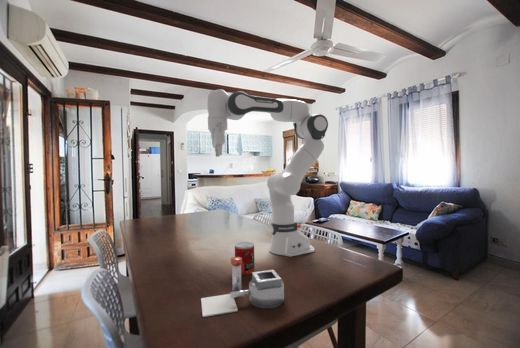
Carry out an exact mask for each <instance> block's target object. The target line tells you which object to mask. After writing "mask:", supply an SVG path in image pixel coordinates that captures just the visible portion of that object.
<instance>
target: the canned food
mask: <svg viewBox="0 0 520 348" xmlns="http://www.w3.org/2000/svg"><path fill="white" fill-rule="evenodd" d="M234 257H241V258H242V264H241V276H249V275H252V272H255V244H254V243H253V242H249V241H240V242H236V243H235V244H234Z"/></svg>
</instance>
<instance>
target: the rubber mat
mask: <svg viewBox="0 0 520 348" xmlns="http://www.w3.org/2000/svg"><path fill="white" fill-rule="evenodd" d="M200 301H201V303H200V304H201V312H202V313H201V314H202V318H207V317H211V316H213V317H214V316H217V315H218V316H219V315H224V314H229V313H230V314H231V313H236V312H238V311H239V310H238V306H237V304H236V300H235V297H234V298H230V293H227V294H219V295H214V296H207V297H201V298H200Z"/></svg>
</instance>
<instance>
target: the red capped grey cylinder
mask: <svg viewBox="0 0 520 348" xmlns="http://www.w3.org/2000/svg"><path fill="white" fill-rule="evenodd" d="M230 264H231V273H232V278H231V279H232V281H231V283H232V292H235V291H242V275H241V264H242V258H241V257H235V256H233V257H231V258H230Z"/></svg>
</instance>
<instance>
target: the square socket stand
mask: <svg viewBox="0 0 520 348" xmlns="http://www.w3.org/2000/svg"><path fill="white" fill-rule="evenodd" d="M251 275H252V276H251V280H250V281H249V283H248V289H243V290H242V289H241V290H242V291H235V292H233V291H230V292H229V294H230V298H234V299H235V298H239V297H247V296H248V297H249V299H248V300H249V303H250V305H252V306H253V307H256V308H258V309H265V310H269V309H275V308H278V307H280V306H282V305H283V304H284V301H285V283H284V281H283V279H282V278H281V277H280V275H279V274H278V273H277V272H276V270H274V269H268V270H262V271H261V270H260V271H254V272H252V274H251Z"/></svg>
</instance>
